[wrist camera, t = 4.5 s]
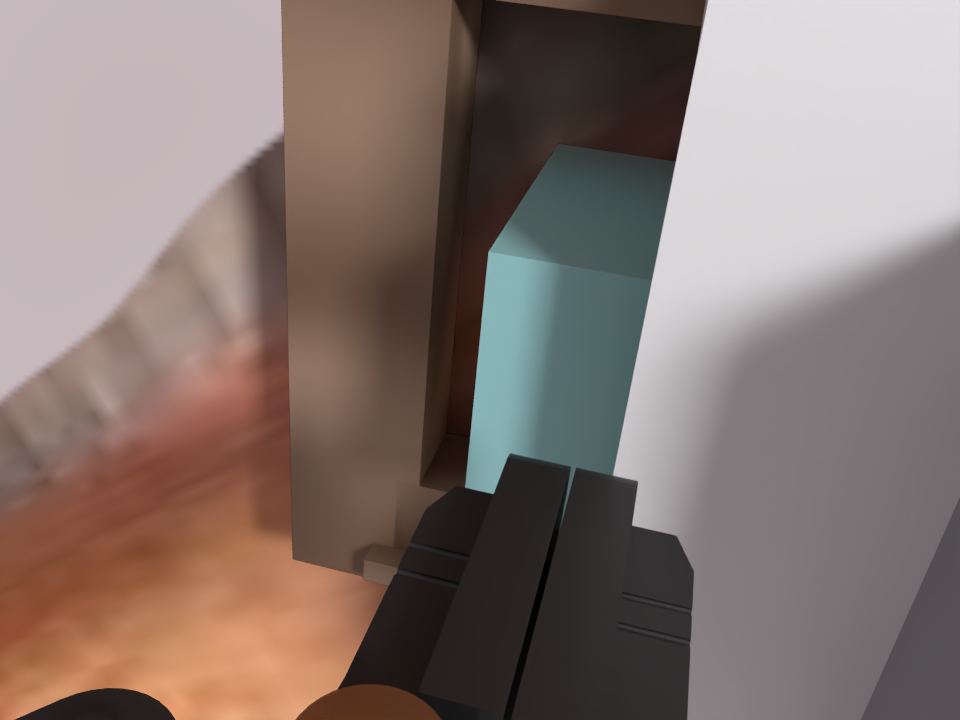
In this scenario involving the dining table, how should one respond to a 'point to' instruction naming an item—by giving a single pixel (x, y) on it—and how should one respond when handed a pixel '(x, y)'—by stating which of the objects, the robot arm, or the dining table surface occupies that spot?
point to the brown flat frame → (381, 260)
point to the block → (566, 313)
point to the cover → (811, 362)
